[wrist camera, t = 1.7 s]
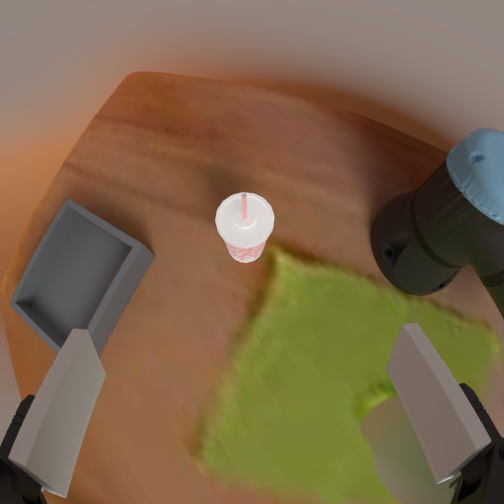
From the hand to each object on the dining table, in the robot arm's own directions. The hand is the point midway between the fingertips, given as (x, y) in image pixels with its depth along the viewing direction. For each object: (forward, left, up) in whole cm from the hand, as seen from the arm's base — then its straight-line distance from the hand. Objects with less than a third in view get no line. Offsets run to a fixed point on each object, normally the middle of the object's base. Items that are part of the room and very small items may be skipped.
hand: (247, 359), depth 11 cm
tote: (+5, -24, -25) cm, 35 cm away
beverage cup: (-11, -7, -26) cm, 29 cm away
